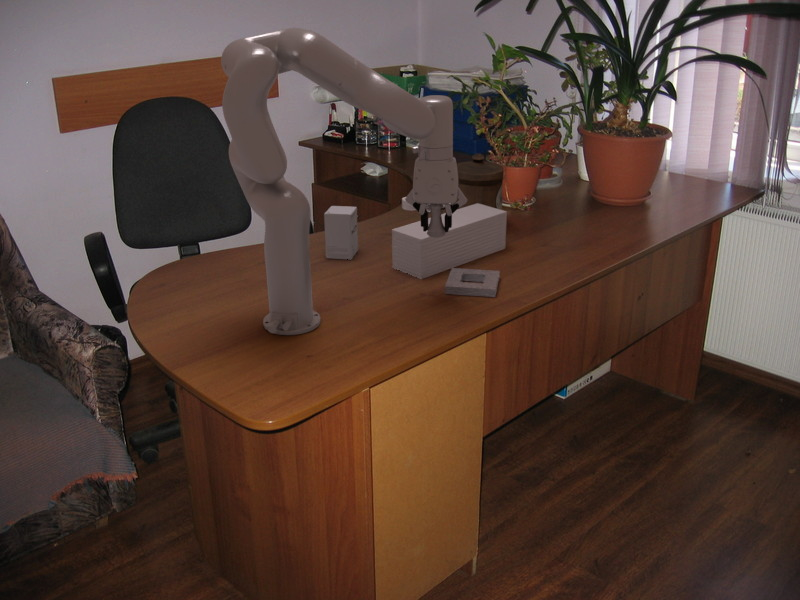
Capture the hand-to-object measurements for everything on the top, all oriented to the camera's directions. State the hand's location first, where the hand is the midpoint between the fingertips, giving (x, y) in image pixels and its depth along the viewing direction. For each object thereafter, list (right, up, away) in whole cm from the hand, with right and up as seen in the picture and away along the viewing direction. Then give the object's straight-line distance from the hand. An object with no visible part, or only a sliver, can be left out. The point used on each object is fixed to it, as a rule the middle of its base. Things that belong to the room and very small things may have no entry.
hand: (436, 229), depth 191 cm
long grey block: (+5, -6, +27) cm, 28 cm away
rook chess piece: (0, -1, +1) cm, 2 cm away
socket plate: (+9, -13, +9) cm, 19 cm away
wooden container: (+14, +4, +50) cm, 52 cm away
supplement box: (-24, -4, +31) cm, 39 cm away
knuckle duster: (0, +14, +72) cm, 73 cm away
